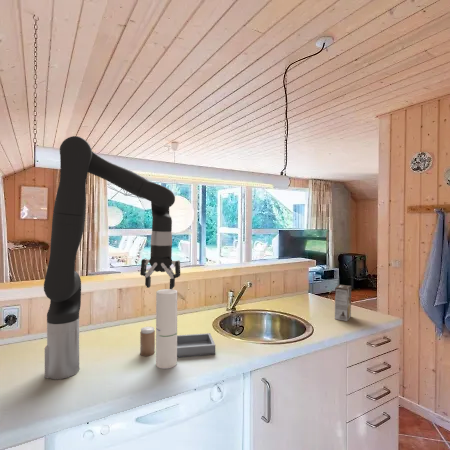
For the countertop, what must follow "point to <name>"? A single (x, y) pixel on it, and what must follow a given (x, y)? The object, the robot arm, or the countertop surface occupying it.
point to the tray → (195, 345)
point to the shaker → (147, 341)
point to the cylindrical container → (166, 328)
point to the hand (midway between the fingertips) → (159, 288)
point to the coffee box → (343, 302)
